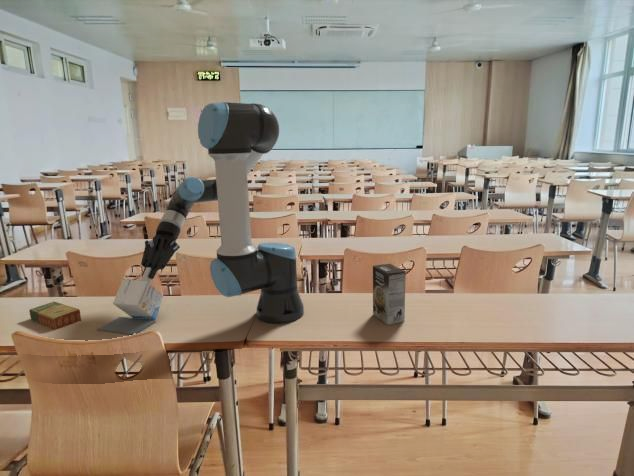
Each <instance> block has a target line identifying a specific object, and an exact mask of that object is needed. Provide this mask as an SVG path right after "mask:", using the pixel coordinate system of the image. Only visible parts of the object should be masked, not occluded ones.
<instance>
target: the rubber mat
mask: <svg viewBox="0 0 634 476" xmlns="http://www.w3.org/2000/svg"><path fill="white" fill-rule="evenodd" d="M155 323H156V320H152V319H137V318H132V317H124V316H118V317H117V318H115V319H112V320H111V321H109V322H107V323H104V325H101V326H100V327H98V328H96V330H97V331H101V332H102V331H103V332H107V333H108V332H109V333H117V334H122V335H123V334H124V335H130V334H134V333H137V334H139V333H141V332H143V331H144V330H146V329H147V328H149V327H150V326H152V325H153V324H155ZM138 332H139V333H138Z"/></svg>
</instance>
